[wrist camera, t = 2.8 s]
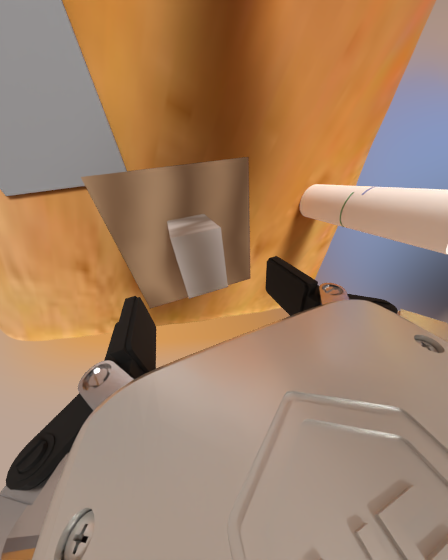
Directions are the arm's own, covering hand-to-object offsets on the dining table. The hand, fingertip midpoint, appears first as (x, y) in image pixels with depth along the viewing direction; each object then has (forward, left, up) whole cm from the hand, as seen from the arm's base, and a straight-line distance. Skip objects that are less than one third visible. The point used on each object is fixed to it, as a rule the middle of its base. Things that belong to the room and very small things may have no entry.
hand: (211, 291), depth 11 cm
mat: (+14, -15, -25) cm, 32 cm away
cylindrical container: (-32, +2, -25) cm, 41 cm away
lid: (0, 0, -10) cm, 10 cm away
